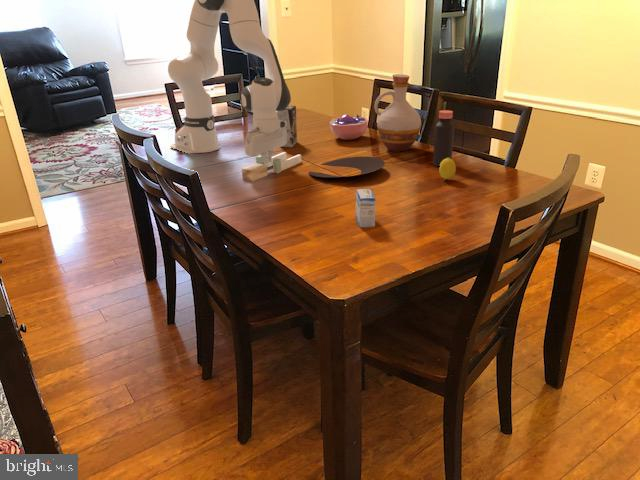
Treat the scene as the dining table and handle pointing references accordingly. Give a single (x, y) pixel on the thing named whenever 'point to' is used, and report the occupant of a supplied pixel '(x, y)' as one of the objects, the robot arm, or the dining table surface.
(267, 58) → the robot arm
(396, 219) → the dining table surface
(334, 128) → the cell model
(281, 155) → the green-tipped fork clamp
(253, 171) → the maple block
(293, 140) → the coffee box
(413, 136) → the jug
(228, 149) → the dining table surface
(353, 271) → the dining table surface
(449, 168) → the lemon
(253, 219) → the dining table surface
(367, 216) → the medicine box
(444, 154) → the bottle
